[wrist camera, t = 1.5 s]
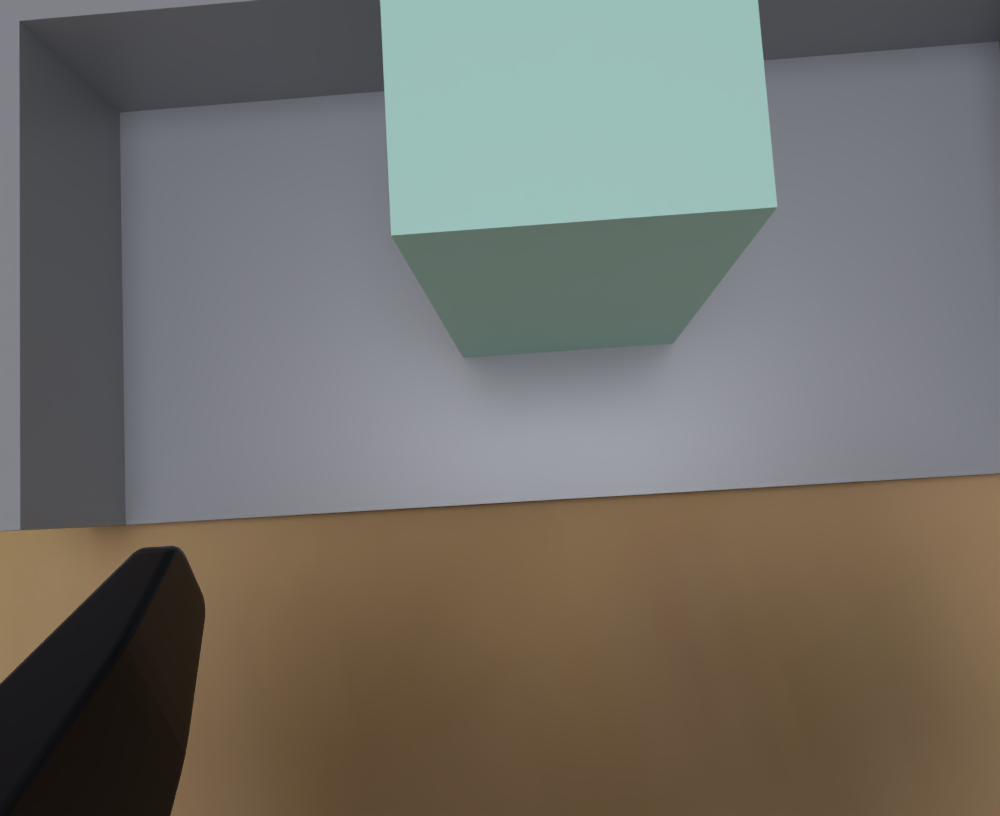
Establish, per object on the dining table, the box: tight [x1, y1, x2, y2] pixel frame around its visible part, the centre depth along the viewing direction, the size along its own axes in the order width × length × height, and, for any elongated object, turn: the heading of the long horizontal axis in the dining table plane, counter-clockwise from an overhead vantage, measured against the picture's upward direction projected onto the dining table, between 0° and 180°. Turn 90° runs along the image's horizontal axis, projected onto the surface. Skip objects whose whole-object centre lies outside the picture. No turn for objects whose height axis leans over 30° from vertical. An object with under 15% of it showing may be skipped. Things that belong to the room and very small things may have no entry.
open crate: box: [0, 0, 1000, 531], centre depth 20 cm, size 12×24×5 cm, turn 93°
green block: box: [380, 0, 777, 357], centre depth 17 cm, size 5×5×10 cm
